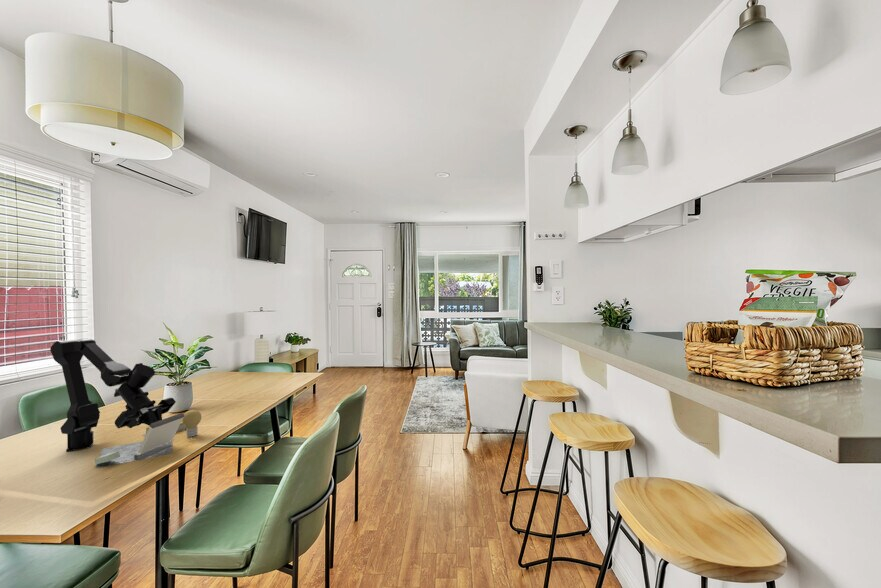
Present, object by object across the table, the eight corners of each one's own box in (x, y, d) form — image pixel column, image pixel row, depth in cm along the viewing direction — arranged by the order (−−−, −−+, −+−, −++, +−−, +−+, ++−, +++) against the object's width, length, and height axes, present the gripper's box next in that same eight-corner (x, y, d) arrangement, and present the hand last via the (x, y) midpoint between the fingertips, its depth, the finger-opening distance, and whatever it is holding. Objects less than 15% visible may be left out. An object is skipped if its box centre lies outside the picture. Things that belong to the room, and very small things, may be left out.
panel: (95, 471, 125) (95, 463, 125) (102, 451, 141) (102, 444, 141) (173, 456, 137) (173, 448, 137) (171, 438, 153) (171, 432, 153)
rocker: (95, 464, 128) (94, 458, 128) (108, 459, 132) (107, 453, 132) (107, 461, 127) (106, 456, 127) (120, 456, 131) (118, 451, 131)
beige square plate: (137, 451, 132) (150, 423, 131) (169, 438, 144) (181, 412, 143) (140, 453, 132) (153, 425, 131) (172, 440, 144) (184, 414, 143)
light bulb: (203, 432, 160) (202, 407, 160) (199, 437, 154) (199, 411, 154) (184, 434, 158) (184, 408, 158) (180, 439, 152) (180, 413, 152)
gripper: (146, 405, 150) (171, 436, 148) (93, 420, 132) (121, 456, 130) (163, 384, 148) (189, 415, 146) (112, 397, 130) (140, 433, 128)
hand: (161, 429), depth 137 cm, fingers closed, pressing on beige square plate
